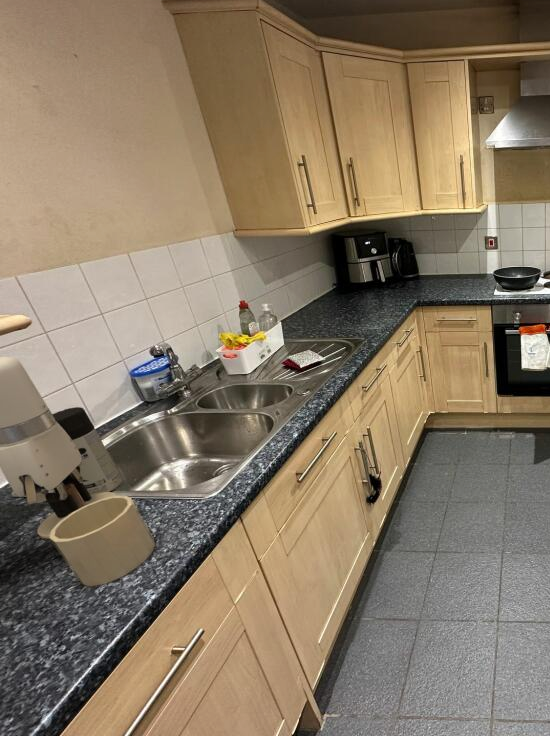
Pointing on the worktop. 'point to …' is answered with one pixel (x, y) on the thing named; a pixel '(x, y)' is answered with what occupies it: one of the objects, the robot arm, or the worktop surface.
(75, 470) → the robot arm
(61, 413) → the spray can
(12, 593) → the worktop surface
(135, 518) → the pot
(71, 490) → the pot lid
